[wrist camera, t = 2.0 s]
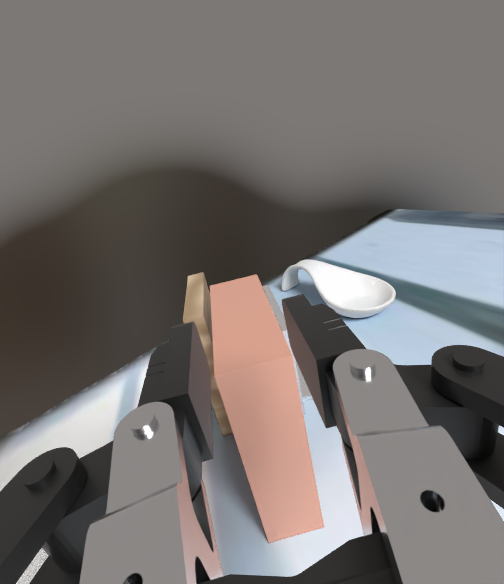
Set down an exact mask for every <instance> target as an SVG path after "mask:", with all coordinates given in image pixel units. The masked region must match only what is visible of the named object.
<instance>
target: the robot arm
mask: <svg viewBox="0 0 504 584" xmlns="http://www.w3.org/2000/svg"><path fill="white" fill-rule="evenodd" d="M282 306H283V312H284V317H285V322H286V328H287V333H288V338H289V342H290V346H291V349H292V352H293V355H294V357H295V360H296V362H297V364H298V366H299V369H300V371H301V373H302V375H303V378H304V380H305V382H306V384H307V386H308V389H309V391H310V393H311V395H312V398H313V400H314V402H315V404H316V407H317V409H318V411H319V413H320V416H321V418H322V420H323V422H324V425H325V427H326V428H330V427H333V426H337V428H338V430H339V432H340V434H341V438H342V446H343V451H344V455H345V459H346V463H347V467H348V471H349V475H350V479H351V483H352V487H353V491H354V495H355V499H356V503H357V507H358V511H359V515H360V519H361V524H362V529H363V534H364V536H362V537H358V538H355V539H352V540H349V541H347V542H346V543H344V544H343V545H342V546H340V547H339V548H337V549H336V550H334V551H333V552H331V553H330V554H328V555H327V556H325V557H324V558H322V559H321V560H319V561H318V562H316V563H315V564H313V565H312V566H310V567H309V568H308V569H306V570H305V571H303V572H302V573H300V574H298V575H296V576H293V577H278V576H255V575H232V574H230V575H226V576H224V575H223V571H222V568H221V564H220V560H219V556H218V551H217V546H216V541H215V536H214V531H213V526H212V521H211V516H210V511H209V506H208V501H207V496H206V491H205V486H204V483H203V481H202V462H203V461H207V460H210V459H213V439H212V408H211V377H210V369H209V364H208V360H207V357H206V354H205V351H204V348H203V345H202V342H201V339H200V336H199V333H198V330H197V327H196V324H195V322H194V321H193V322H189V323H185V324H181V325H177V326H173V327H172V329H171V335H170V339H169V343H165V344H161V345H159V346H158V347H157V349H156V350H155V351H154V352H153V354H152V355H151V357H150V361H149V365H148V369H147V373H146V378H145V380H144V384H143V388H142V392H141V396H140V400H139V403H138V407H137V408H136V409H134V410H133V411H131V412H130V413H129V414H128V415H126V416H125V417H124V418H123V419H122V421H121V422H120V423H119V425H118V426H117V428H116V430H115V433H114V440H113V441H112V442H110V443H108V444H106V445H105V446H103V447H101V448H99V449H97V450H95V451H93V452H91V453H89V454H87V455H85V456H84V457H82V458H80V459H79V457H78V456H77V454H76V453H75V452H74V450H72V449H71V448H67V447H62V448H56V449H53V450H50V451H47V452H45V453H43V454H41V455H40V456H38V457H36V458H35V459H33V460H32V461H31V462H29V463H28V464H27V465H26V466H25V467H23V468H22V469H21V470H20V471H19V472H18V473H17V474H16V475H15V477H14V478H13V479H12V480H11V481H10V482H9V483H8V484H7V485H6V486H5V487H4V488H3V489H2V490H1V491H0V584H16V582H17V581H18V580H19V578H20V577H21V575H22V574H23V573H24V571H25V570H26V568H27V567H28V566H29V564H30V563H31V561H32V560H33V559H34V557H35V556H36V554H37V553H38V552H39V550H40V549H41V547H42V548H43V549H44V551H45V552H46V553H47V554H48V555H49V556H48V558H47V559H46V560H45V562H44V563H43V565H42V566H41V568H40V569H39V571H38V572H37V574H36V575H35V576H34V578H33V579H32V581H31V582H30V584H504V521H503V520H502V518H501V516H500V515H499V513H498V512H497V510H496V508H495V507H494V505H493V504H492V502H491V500H492V501H493V502H495V503H496V504H498V505H499V506H500V507H502V508H503V509H504V436H503V435H502V434H500V433H498V427H499V425H500V426H502V427H504V357H503V356H500V355H497V354H495V353H492V352H489V351H487V350H484V349H481V348H477V347H473V346H467V345H452V346H447V347H443V348H441V349H439V350H437V351H436V352H435V353H434V354H433V356H432V364H431V365H395V364H393V363H392V361H391V360H390V359H389V358H388V357H387V356H385V355H384V354H382V353H380V352H377V351H374V350H368V349H366V348H365V347H364V345H363V344H362V343H361V342H360V341H359V339H358V338H357V337H356V336H355V335H354V333H353V332H352V331H351V330H350V329H349V327H348V326H346V324H345V323H344V321H343V320H342V319H340V317H339V315H338V314H337V313H336V312H335V311H334V309H332V308H329V307H327V306H325V305H323V304H319V305H315V306H311V304H310V303H309V301H308V300H307V299H306V297H305V296H304V295H303V294H301V295H297V296H293V297H289V298H285V299H282ZM490 499H491V500H490Z"/></svg>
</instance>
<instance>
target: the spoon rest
mask: <svg viewBox="0 0 504 584" xmlns="http://www.w3.org/2000/svg"><path fill="white" fill-rule="evenodd" d="M299 269H303V270H305V271H307V272H308V274H309V275H310V276H311V278H312V280H313V282H314V284H315V286H316V288H317V290H318V292H319V294H320V295H321V297H322V298H323V300H324V301H325V303H326V304H327V305H328V306H329V307H330V308H332V309H334V311H335V312H336V313H338V314H340V315H343V316H346V317H351V318H364V317H369V316H373V315H375V314H378V313H380V312H381V311H383V310H384V309H386V308H387V307H388V306H389V305H390V304H391V303H392V302H393V300H394V298H395V295H396V293H395V290H394V288H393V287H392V286H391V285H390V284H388V283H387V282H385V281H383V280H381V279H378V278H375V277H372V276H369V275H365V274H361V273H358V272H354V271H351V270H347V269H344V268H340V267H337V266H334V265H330V264H327V263H324V262H320V261H316V260H303V261H300V262H299V263H297V264H296V265H292V266H290V267H289V268H288V269H287V270H286V271H285V273H284V275H283V278H282V291H287V290H289V289H291V288H293V287H294V286H296V285H298V283H299V281H298V270H299Z"/></svg>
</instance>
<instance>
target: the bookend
mask: <svg viewBox="0 0 504 584" xmlns="http://www.w3.org/2000/svg"><path fill="white" fill-rule="evenodd" d="M263 290H264V292H265V294H266V297H267V299H268V301H269V304H270V306H271V308H272V310H273V313H274V315H275V317H276V319H277V322H278V324H279V326H280V329H281V331H282V333H283V335H284V338H285V340H286V342H287V345H288V347H289V349H290V351H291V354H292V357H293V362H294V368H295V373H296V378H297V384H298V389H299V395H300V400H301V405H302V411H303V414H305V410H304V404H303V401H306V400H310V399H313V398H312V395H311V393H310V391H309V389H308V386H307V384H306V382H305V380H304V378H303V375H302V373H301V371H300V369H299V366H298V364H297V362H296V360H295V357H294V355H293V352H292V349H291V346H290V342H289V338H288V333H287V328H286V322H285V318H284V316H283V314H282V312H281V310H280V308H279V306H278V304H277V302H276V300H275V298H274V296H273V294H272V292H271V290H270V288H269V286H268V285H266V286H263Z"/></svg>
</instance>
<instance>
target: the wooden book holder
mask: <svg viewBox="0 0 504 584" xmlns="http://www.w3.org/2000/svg"><path fill="white" fill-rule="evenodd" d="M183 321H184V324H185V323H189V322H193V321H194V322H195V324H196V327H197V330H198V333H199V336H200V339H201V342H202V345H203V348H204V351H205V354H206V357H207V360H208V364H209V369H210V377H211V403H212V406H213V408H214V411H215V414H216V417H217V420H218V423H219V426H220V429H221V432H222V434H223V436H225V435H229V434H233V431H232V428H231V425H230V422H229V419H228V416H227V413H226V410H225V407H224V403H223V400H222V397H221V394H220V391H219V388H218V385H217V382H216V379H215V376H214V357H213V337H212V317H211V297H210V293H209V290H208V287H207V283H206V280H205V276H204V273H199V274H195V275H191V276H188V283H187V291H186V300H185V308H184V316H183Z"/></svg>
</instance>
